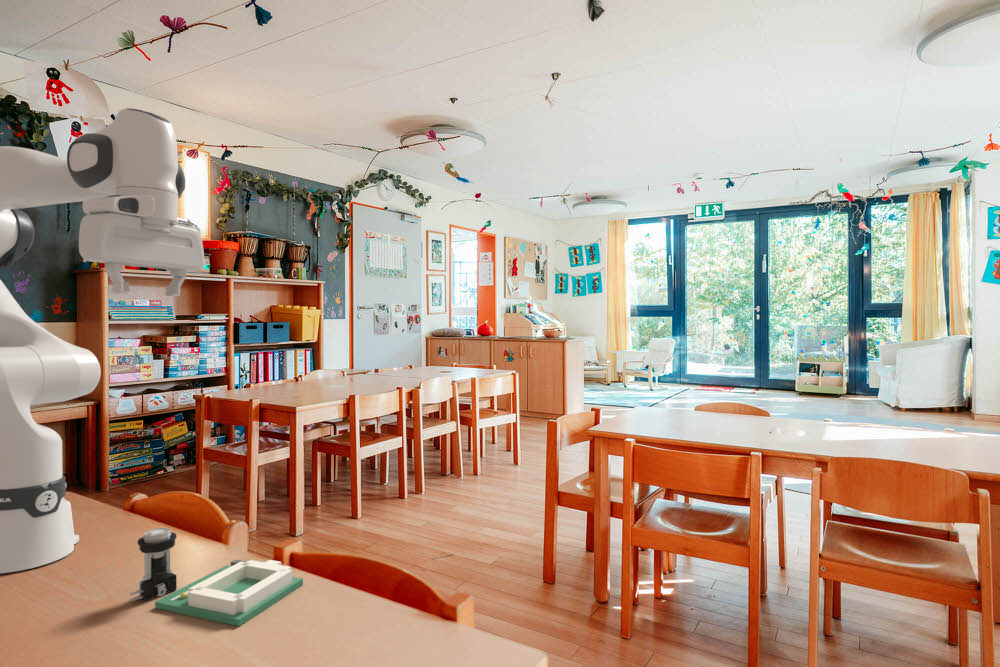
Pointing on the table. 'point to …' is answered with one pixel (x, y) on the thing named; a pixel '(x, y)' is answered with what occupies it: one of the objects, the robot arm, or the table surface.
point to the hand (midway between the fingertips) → (148, 294)
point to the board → (233, 592)
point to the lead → (236, 562)
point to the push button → (156, 564)
